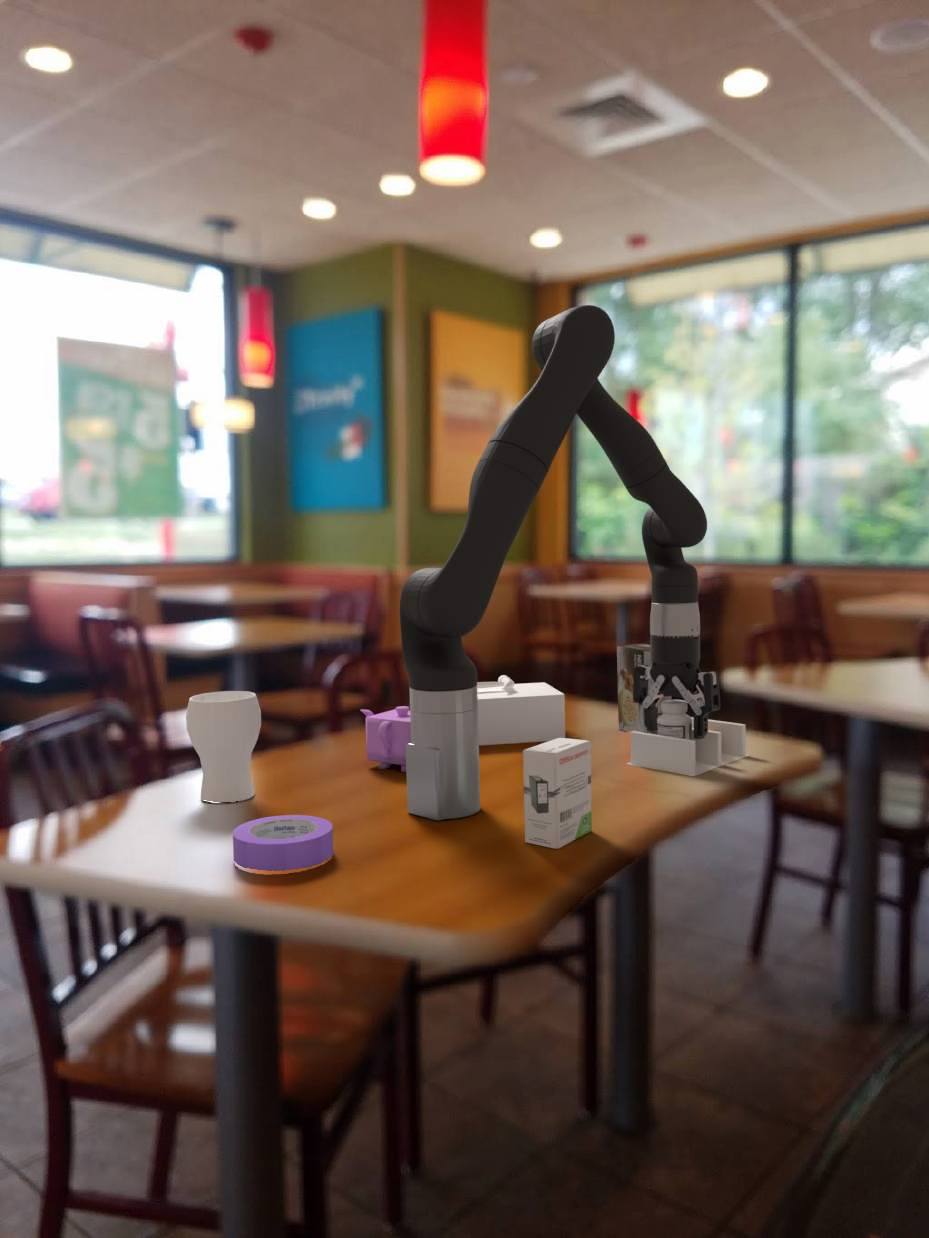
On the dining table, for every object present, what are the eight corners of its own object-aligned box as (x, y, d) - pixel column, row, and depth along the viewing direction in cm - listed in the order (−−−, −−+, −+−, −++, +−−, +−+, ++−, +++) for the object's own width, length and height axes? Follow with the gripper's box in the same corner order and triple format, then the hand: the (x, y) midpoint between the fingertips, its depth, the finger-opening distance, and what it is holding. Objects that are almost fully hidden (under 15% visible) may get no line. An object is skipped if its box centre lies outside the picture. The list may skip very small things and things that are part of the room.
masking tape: (305, 837, 123) (304, 808, 122) (351, 861, 113) (350, 829, 113) (218, 857, 116) (216, 826, 115) (259, 884, 106) (258, 851, 106)
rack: (693, 782, 143) (692, 742, 142) (626, 769, 151) (625, 732, 151) (749, 761, 155) (749, 724, 154) (685, 750, 163) (684, 715, 163)
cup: (277, 788, 146) (272, 690, 144) (242, 808, 136) (237, 703, 134) (214, 785, 149) (209, 689, 147) (176, 804, 138) (170, 701, 137)
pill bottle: (672, 757, 154) (671, 697, 153) (699, 763, 150) (699, 701, 149) (650, 763, 151) (649, 702, 150) (678, 769, 147) (677, 706, 146)
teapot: (474, 762, 159) (472, 703, 158) (427, 780, 148) (425, 717, 148) (389, 750, 169) (387, 695, 168) (339, 767, 158) (336, 708, 158)
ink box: (560, 825, 124) (558, 735, 123) (593, 831, 121) (592, 739, 120) (523, 843, 118) (521, 748, 117) (557, 850, 115) (555, 753, 114)
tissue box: (565, 741, 174) (564, 681, 173) (428, 750, 170) (426, 689, 169) (545, 725, 189) (544, 670, 188) (418, 733, 184) (416, 677, 183)
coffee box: (673, 734, 176) (673, 647, 175) (645, 738, 174) (644, 650, 172) (644, 725, 185) (643, 642, 183) (616, 729, 182) (615, 645, 181)
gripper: (622, 631, 151) (623, 732, 152) (702, 636, 141) (703, 745, 142) (649, 626, 156) (650, 725, 158) (728, 631, 146) (729, 736, 148)
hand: (675, 734), depth 150 cm, fingers open, 8 cm apart
